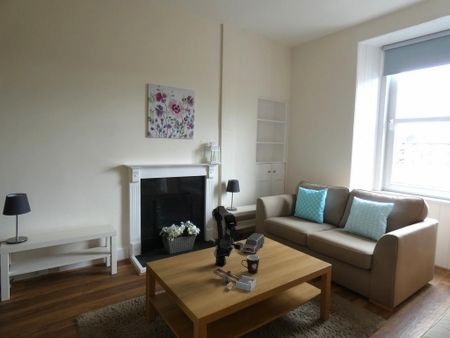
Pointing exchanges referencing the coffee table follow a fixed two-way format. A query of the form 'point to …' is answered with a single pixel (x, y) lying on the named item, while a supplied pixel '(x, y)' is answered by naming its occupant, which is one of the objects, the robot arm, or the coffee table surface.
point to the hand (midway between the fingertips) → (228, 256)
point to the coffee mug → (252, 263)
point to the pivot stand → (225, 278)
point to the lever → (227, 277)
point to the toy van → (253, 243)
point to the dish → (244, 285)
